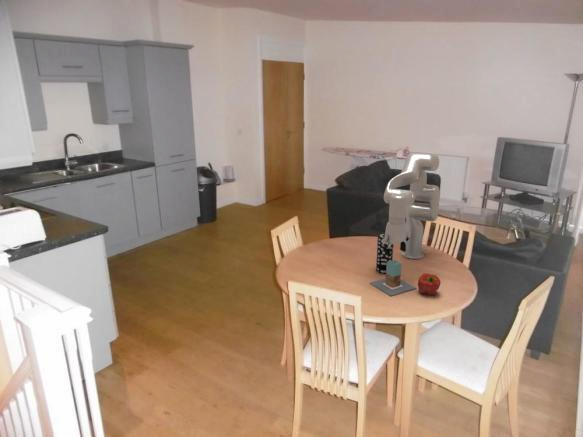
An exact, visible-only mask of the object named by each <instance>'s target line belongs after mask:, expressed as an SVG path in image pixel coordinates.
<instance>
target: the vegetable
mask: <svg viewBox="0 0 583 437" xmlns="http://www.w3.org/2000/svg"><path fill="white" fill-rule="evenodd" d="M441 283H442V282H441V279H440V278H439V277H438V276H437V275H436V274H432V273H426V272H425V273H422V275H421V276H419V277H418V281H417V287H418V290H419V291H420V293H421V294H423V295H424V294H426V295H429V296H432V295H433V296H434V295H435V294H436V293H437V291H438V290H439V289H440V286H441Z"/></svg>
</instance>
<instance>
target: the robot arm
mask: <svg viewBox="0 0 583 437" xmlns="http://www.w3.org/2000/svg"><path fill="white" fill-rule="evenodd" d="M439 167H440V158H439V156H438V155H437V154H433V153H422V152H421V153H419V152H413V153H409V154H407V155H406V157H405V161H404V163H403V167H402V170H401V172H400V173H398V174H397V175H395V176H394V177H392V178H391V179H390V180H389V181H388V183H387V184H386V187H385V190H384V194H383V201H384V202H385V203H386V204H388V206H389V210H388V222H387V223H386V227H385V232H384V233H385V238H383V239H382V240H381V242H382V245H383V246H384V247H385V255H387V256H390V246H391V245H392V244H394V245H395V244H399V245H400V247H399V250H400V251H401V252H400V254H401V256H402V257H404V258H405V259H410V260H420V259H422V258H424V257H425V254H424V253H423V252H424V251H427V250H428V247H427V246H424V247H423V237H424V235H423V234H424V225H423V223H422V222H421V221H423V222H424V221H425V222H435V221H437V219H438V215H439V207H440V197H441V196H440V194H441V193H440V192H441V191H440V187H439V186H438V185H435V184H427V180H428V179H427V178H428V176H427V175H428V174H427V172H426V171H428V172H436V171H437V169H438V168H439ZM409 185H410V186H409ZM404 186H409V190H408V189H401V188H400V187H404ZM415 201H417V202H415ZM423 202H425V203H423ZM389 241H390V242H389ZM385 242H386V243H385ZM388 243H389V245H388Z"/></svg>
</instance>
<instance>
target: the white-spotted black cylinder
mask: <svg viewBox="0 0 583 437" xmlns="http://www.w3.org/2000/svg"><path fill="white" fill-rule="evenodd" d="M383 238H385V232H384V233H379V234H378V235H377V244H376V245H377V246H376V263H375V264H376V265H375V271H376V273H378V274H380V275H386V267H387V262H388V261H392V260H394V257H393V256H394V245H395V244H392V245H391V246H390V256H387V255H385V247H384V246H383V245H382V242H381V240H382V239H383ZM389 242H390V241H389ZM385 243H386V242H385ZM388 245H389V243H388Z"/></svg>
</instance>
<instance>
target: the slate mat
mask: <svg viewBox="0 0 583 437" xmlns="http://www.w3.org/2000/svg"><path fill="white" fill-rule="evenodd" d="M369 284H370V285H372V286H373V287H375V288H376V289H378V290H380V292H383V293H385V294H386V295H388V296H389V297H394V296H397V295H401V294H404V293H408V292H410V291H414V290H417V287H416V286H414V285H412V284H410V283H409V282H407V281H405V280H403V279H401V282H400V286H397V287H394V288H392V287H390V286H388V285H386V277H384V278H380V279H378V280H373V281H370V282H369Z"/></svg>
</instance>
